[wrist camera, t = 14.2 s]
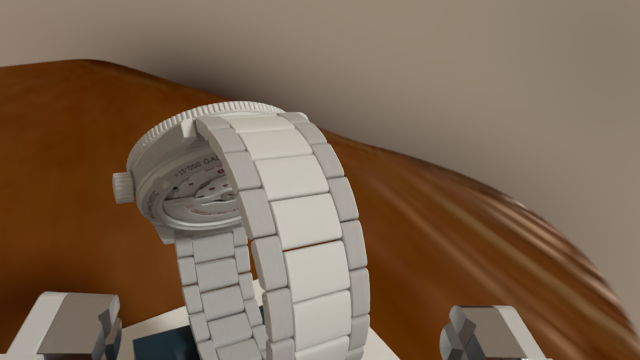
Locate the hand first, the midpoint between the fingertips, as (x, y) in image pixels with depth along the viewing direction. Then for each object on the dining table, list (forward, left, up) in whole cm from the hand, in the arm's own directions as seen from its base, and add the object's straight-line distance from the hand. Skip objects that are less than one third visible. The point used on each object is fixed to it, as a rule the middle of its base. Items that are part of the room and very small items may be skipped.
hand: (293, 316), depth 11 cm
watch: (-1, 0, -7) cm, 7 cm away
